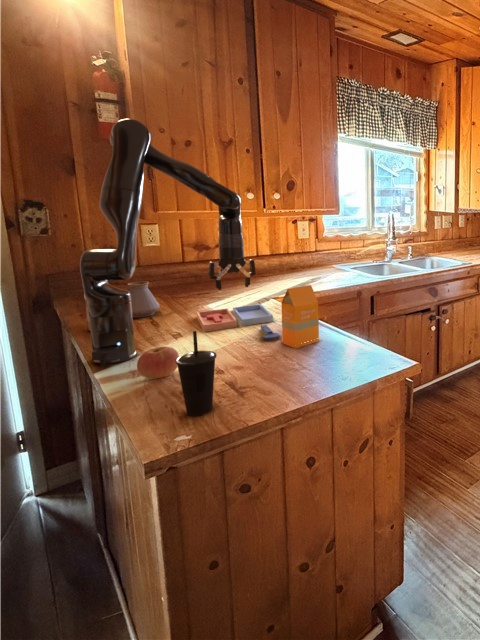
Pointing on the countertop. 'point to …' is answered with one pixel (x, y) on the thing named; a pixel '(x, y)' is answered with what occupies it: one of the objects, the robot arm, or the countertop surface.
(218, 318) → the red spoon
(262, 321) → the blue tray
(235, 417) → the countertop surface
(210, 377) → the drinking cup
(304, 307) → the orange juice
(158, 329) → the countertop surface
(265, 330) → the blue spoon
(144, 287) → the coffee pot
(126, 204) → the robot arm
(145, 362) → the apple
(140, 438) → the countertop surface
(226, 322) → the red tray
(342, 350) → the countertop surface
